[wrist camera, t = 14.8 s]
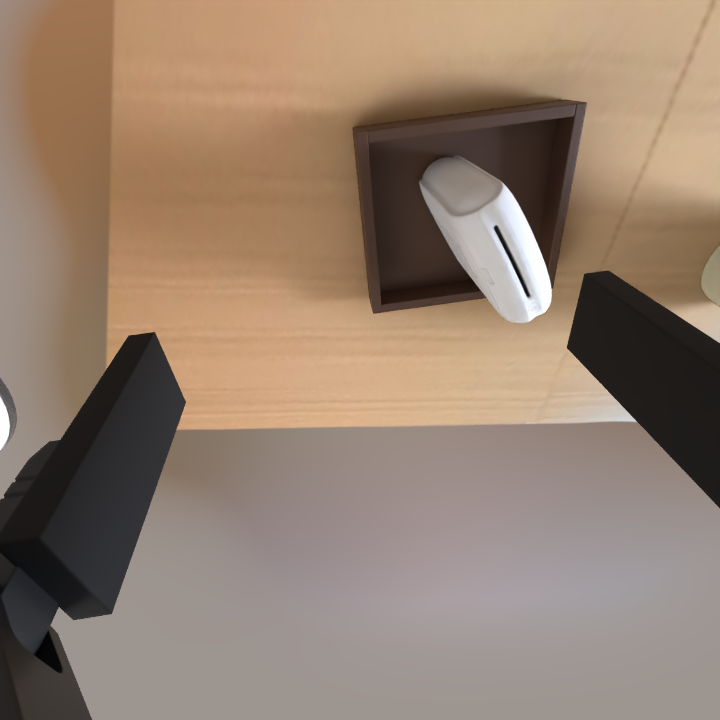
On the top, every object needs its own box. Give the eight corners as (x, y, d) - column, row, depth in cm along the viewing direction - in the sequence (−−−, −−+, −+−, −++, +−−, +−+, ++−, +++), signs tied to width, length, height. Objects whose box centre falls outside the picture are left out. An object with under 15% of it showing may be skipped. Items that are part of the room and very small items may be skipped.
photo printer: (505, 247, 38) (575, 312, 28) (463, 273, 39) (516, 345, 29) (456, 143, 33) (522, 177, 22) (409, 177, 34) (451, 223, 24)
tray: (369, 298, 40) (373, 313, 38) (352, 127, 32) (355, 132, 29) (538, 275, 40) (553, 289, 38) (565, 99, 32) (587, 102, 30)
